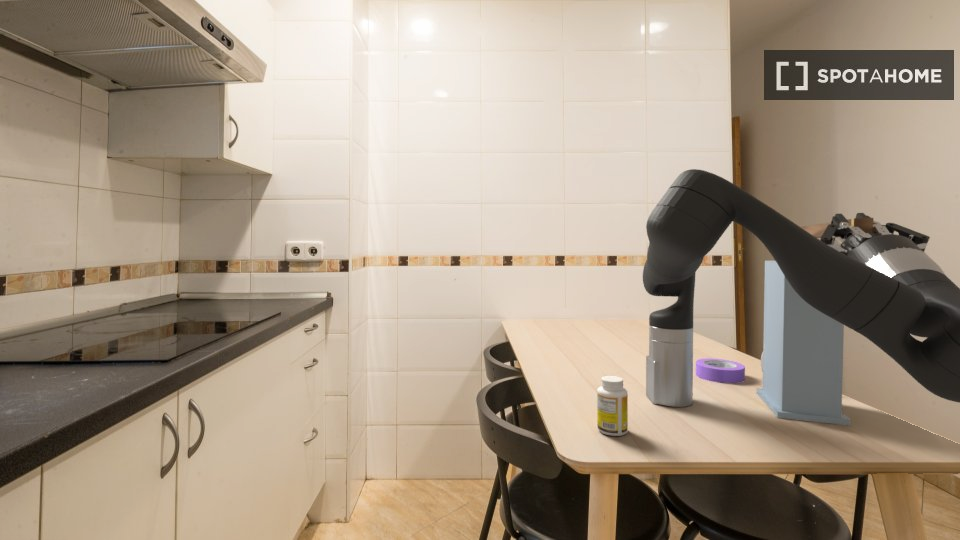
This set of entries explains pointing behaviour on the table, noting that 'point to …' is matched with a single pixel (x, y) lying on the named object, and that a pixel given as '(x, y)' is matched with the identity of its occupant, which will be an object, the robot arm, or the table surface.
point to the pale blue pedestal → (800, 355)
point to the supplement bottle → (612, 406)
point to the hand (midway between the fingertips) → (847, 218)
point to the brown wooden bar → (862, 223)
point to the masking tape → (720, 370)
